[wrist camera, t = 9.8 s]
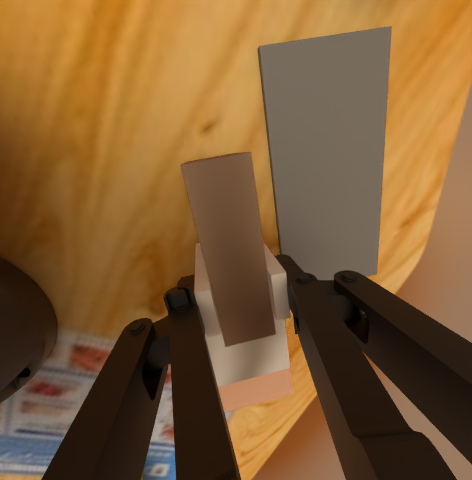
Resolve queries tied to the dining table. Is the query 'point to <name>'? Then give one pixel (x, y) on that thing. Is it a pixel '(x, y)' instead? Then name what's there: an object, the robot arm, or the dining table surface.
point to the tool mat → (328, 147)
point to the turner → (235, 268)
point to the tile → (256, 390)
